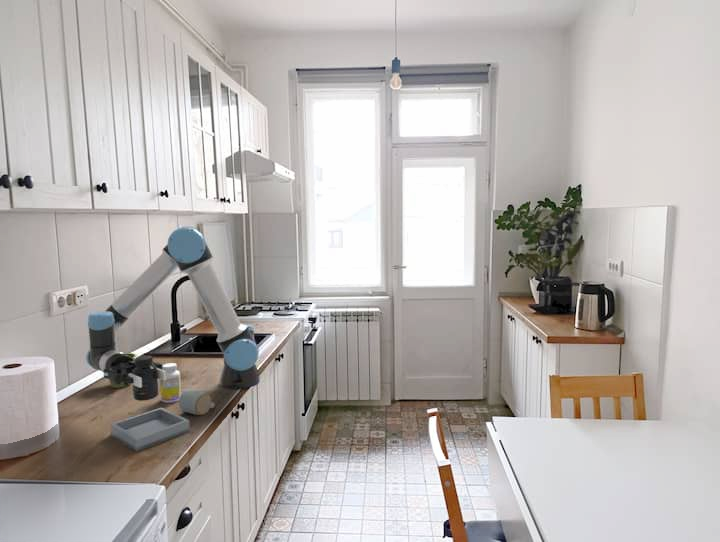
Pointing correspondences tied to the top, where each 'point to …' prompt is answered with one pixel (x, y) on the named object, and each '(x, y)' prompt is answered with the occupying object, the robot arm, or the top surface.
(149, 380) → the supplement bottle
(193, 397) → the ceramic mug
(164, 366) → the supplement bottle
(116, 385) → the plant pot
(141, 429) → the tray
